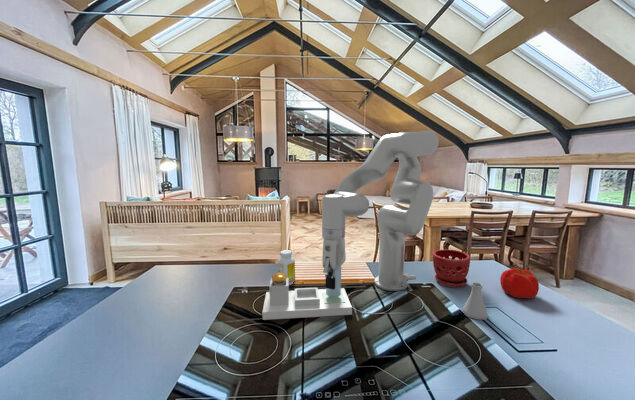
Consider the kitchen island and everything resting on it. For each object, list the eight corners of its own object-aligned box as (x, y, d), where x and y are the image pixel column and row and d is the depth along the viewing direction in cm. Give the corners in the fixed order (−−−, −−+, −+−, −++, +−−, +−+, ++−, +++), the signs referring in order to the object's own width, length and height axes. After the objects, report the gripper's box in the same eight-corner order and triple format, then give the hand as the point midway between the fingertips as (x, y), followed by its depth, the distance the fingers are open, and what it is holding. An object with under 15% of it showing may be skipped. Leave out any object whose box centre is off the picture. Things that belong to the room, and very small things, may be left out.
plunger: (287, 295, 91) (286, 272, 90) (286, 302, 87) (286, 278, 85) (272, 295, 91) (272, 273, 90) (271, 303, 86) (271, 279, 85)
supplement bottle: (296, 278, 111) (296, 249, 109) (293, 286, 104) (292, 254, 103) (280, 278, 112) (280, 248, 110) (276, 285, 105) (275, 254, 103)
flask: (484, 310, 87) (487, 281, 86) (490, 322, 80) (493, 291, 79) (459, 306, 90) (462, 278, 88) (463, 318, 83) (466, 287, 81)
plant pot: (448, 273, 116) (450, 246, 114) (475, 286, 103) (478, 257, 102) (424, 278, 111) (426, 250, 109) (450, 292, 99) (452, 261, 97)
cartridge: (343, 291, 92) (343, 255, 90) (338, 298, 87) (338, 260, 85) (328, 289, 94) (328, 253, 92) (323, 295, 89) (323, 258, 87)
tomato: (521, 304, 90) (524, 279, 89) (491, 288, 102) (493, 265, 101) (546, 301, 92) (549, 276, 91) (514, 285, 104) (517, 263, 103)
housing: (344, 294, 98) (344, 271, 96) (351, 314, 85) (352, 287, 84) (266, 298, 95) (265, 274, 94) (262, 319, 82) (261, 292, 81)
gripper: (335, 240, 78) (334, 298, 81) (352, 227, 93) (351, 276, 96) (312, 237, 81) (312, 293, 84) (332, 225, 96) (332, 273, 99)
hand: (333, 284), depth 90 cm, fingers closed on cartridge, 4 cm apart
